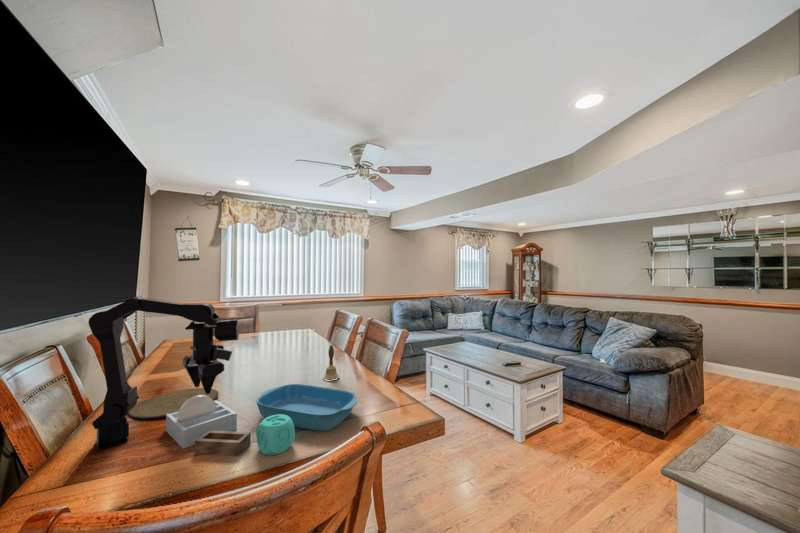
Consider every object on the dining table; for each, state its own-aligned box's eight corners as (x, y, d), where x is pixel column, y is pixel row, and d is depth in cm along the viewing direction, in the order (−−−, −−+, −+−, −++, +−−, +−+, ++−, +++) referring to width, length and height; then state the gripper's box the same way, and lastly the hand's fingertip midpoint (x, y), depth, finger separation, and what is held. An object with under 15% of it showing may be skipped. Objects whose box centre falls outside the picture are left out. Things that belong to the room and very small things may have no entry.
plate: (205, 431, 103) (221, 399, 106) (173, 427, 96) (191, 393, 100) (202, 429, 104) (218, 398, 108) (171, 425, 97) (189, 391, 101)
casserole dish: (367, 410, 118) (367, 391, 118) (337, 440, 97) (337, 417, 97) (284, 398, 130) (285, 380, 130) (242, 422, 108) (242, 401, 109)
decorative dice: (281, 437, 98) (281, 411, 98) (295, 447, 93) (295, 419, 93) (255, 448, 92) (256, 420, 92) (268, 458, 87) (269, 429, 87)
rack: (183, 448, 92) (183, 430, 92) (165, 430, 102) (166, 414, 102) (236, 429, 103) (236, 413, 103) (216, 414, 114) (216, 400, 114)
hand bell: (319, 380, 151) (319, 346, 151) (327, 375, 159) (328, 343, 159) (334, 382, 148) (335, 348, 149) (342, 376, 156) (343, 344, 156)
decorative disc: (178, 384, 140) (237, 385, 134) (178, 391, 140) (237, 393, 134) (106, 411, 112) (177, 415, 106) (106, 421, 112) (177, 425, 106)
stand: (194, 453, 89) (195, 440, 89) (209, 442, 95) (209, 430, 95) (238, 455, 88) (239, 442, 89) (250, 444, 94) (250, 432, 94)
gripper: (241, 342, 104) (240, 390, 103) (218, 334, 115) (217, 377, 115) (203, 348, 95) (202, 400, 95) (182, 339, 107) (181, 386, 106)
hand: (202, 390), depth 103 cm, fingers open, 9 cm apart
